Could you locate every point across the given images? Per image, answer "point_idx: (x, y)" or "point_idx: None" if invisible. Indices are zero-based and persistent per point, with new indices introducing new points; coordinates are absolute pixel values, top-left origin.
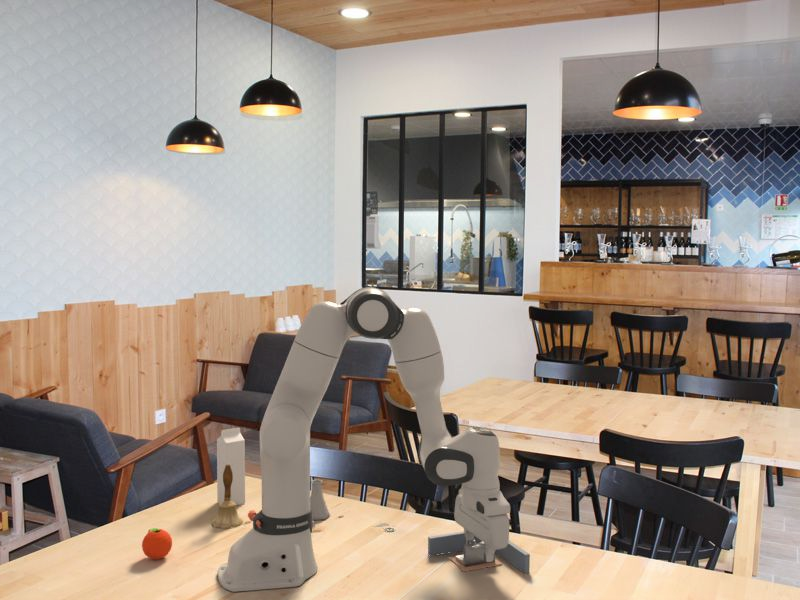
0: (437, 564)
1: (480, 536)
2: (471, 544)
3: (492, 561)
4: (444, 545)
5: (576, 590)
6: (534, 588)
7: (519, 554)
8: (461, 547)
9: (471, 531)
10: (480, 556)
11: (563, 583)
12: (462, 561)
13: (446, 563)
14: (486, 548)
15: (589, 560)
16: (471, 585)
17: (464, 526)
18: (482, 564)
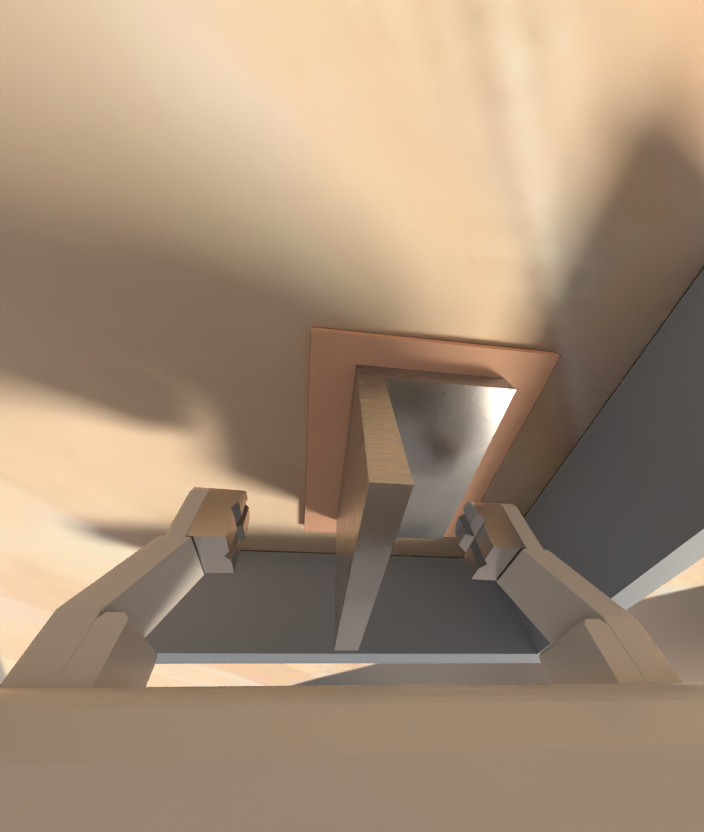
0: (563, 189)
1: (93, 805)
2: (378, 543)
3: (337, 514)
4: (695, 398)
5: (5, 595)
6: (10, 516)
7: (207, 629)
8: (575, 481)
9: (447, 749)
10: (344, 496)
11: (73, 592)
12: (406, 381)
13: (513, 285)
14: (340, 571)
15: (237, 665)
16: (29, 218)
17: (674, 740)
18: (339, 466)
